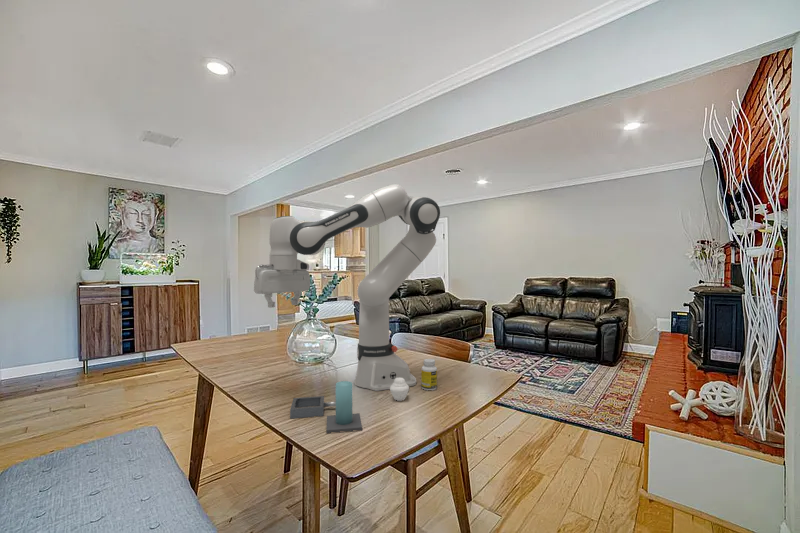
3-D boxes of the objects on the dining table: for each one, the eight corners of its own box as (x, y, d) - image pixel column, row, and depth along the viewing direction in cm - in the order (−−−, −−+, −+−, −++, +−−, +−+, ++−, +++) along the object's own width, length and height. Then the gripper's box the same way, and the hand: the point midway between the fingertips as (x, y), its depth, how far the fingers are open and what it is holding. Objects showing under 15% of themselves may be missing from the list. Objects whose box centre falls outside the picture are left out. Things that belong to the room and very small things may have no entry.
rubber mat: (359, 416, 100) (359, 413, 100) (362, 430, 91) (362, 427, 91) (326, 418, 98) (326, 415, 98) (326, 433, 89) (326, 430, 89)
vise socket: (345, 402, 110) (345, 394, 110) (346, 414, 101) (346, 405, 101) (293, 406, 107) (293, 397, 107) (290, 418, 98) (290, 409, 98)
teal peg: (351, 417, 97) (351, 380, 97) (352, 424, 93) (352, 385, 93) (335, 418, 96) (335, 381, 96) (335, 425, 92) (335, 386, 92)
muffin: (410, 402, 110) (410, 379, 110) (391, 403, 109) (391, 380, 109) (407, 395, 116) (407, 373, 116) (388, 396, 115) (388, 374, 115)
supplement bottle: (432, 392, 119) (432, 363, 119) (418, 389, 122) (418, 360, 122) (439, 387, 124) (439, 359, 124) (425, 384, 126) (425, 357, 127)
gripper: (261, 264, 108) (261, 309, 108) (312, 264, 125) (312, 304, 125) (249, 264, 112) (249, 308, 112) (300, 265, 129) (300, 303, 129)
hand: (283, 306), depth 118 cm, fingers open, 8 cm apart
